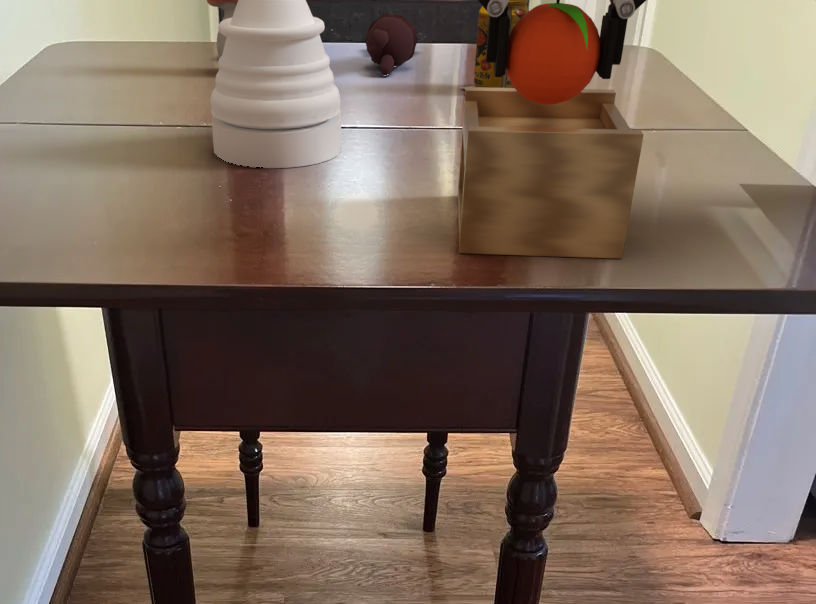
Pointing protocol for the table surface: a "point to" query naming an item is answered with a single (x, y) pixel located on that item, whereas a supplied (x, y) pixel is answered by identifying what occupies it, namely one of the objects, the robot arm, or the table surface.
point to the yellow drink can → (483, 69)
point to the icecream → (391, 41)
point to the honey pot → (275, 88)
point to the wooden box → (545, 175)
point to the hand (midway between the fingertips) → (550, 72)
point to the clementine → (553, 53)
